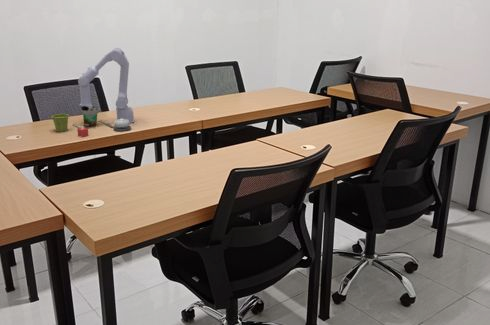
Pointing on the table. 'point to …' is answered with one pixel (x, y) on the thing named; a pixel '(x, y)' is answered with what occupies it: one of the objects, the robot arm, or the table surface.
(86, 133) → the red die
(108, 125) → the game lane
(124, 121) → the dome
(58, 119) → the plant pot
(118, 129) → the dark grey disc
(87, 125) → the food container
